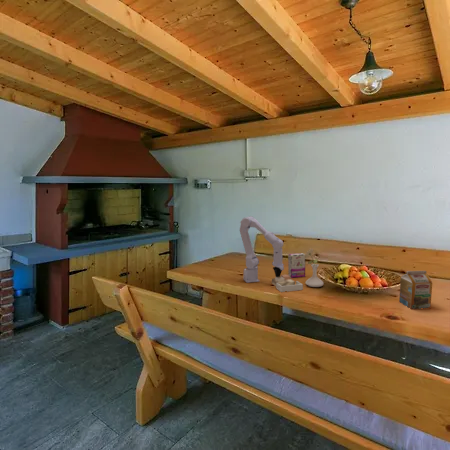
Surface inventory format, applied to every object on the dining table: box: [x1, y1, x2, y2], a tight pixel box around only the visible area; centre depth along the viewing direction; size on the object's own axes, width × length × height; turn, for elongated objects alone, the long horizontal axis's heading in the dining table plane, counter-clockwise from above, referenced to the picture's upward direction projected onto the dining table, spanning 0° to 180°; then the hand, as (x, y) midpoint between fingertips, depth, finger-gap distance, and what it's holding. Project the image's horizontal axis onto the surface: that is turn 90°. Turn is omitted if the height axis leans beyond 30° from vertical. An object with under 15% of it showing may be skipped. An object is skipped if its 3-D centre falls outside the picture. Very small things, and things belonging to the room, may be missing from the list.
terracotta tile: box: [280, 274, 291, 280], centre depth 214 cm, size 4×4×2 cm
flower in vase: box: [304, 247, 324, 288], centre depth 207 cm, size 13×11×25 cm
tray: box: [275, 280, 304, 293], centre depth 202 cm, size 15×8×4 cm, turn 104°
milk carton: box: [398, 270, 433, 310], centre depth 172 cm, size 11×11×19 cm
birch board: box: [271, 277, 296, 287], centre depth 212 cm, size 12×10×3 cm
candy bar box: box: [287, 252, 306, 279], centre depth 228 cm, size 11×5×16 cm, turn 104°
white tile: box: [274, 276, 284, 282], centre depth 210 cm, size 4×4×2 cm
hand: (277, 278), depth 213 cm, fingers closed
